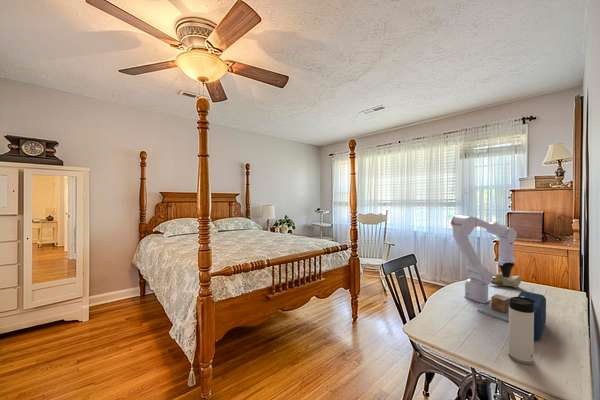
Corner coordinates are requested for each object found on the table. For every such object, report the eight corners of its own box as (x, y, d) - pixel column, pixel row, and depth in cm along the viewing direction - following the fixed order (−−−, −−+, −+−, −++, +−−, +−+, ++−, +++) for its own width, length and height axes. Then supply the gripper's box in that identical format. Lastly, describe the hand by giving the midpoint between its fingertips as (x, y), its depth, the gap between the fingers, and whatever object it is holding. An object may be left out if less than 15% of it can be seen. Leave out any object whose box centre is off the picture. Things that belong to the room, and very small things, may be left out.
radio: (518, 316, 115) (519, 270, 114) (546, 323, 108) (547, 275, 108) (509, 334, 101) (509, 282, 100) (540, 343, 94) (540, 288, 93)
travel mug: (539, 366, 82) (540, 303, 82) (515, 363, 84) (516, 301, 83) (526, 354, 88) (527, 295, 88) (504, 352, 90) (505, 294, 89)
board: (478, 311, 120) (478, 309, 120) (492, 304, 127) (492, 301, 127) (509, 322, 109) (509, 320, 109) (523, 313, 117) (523, 311, 117)
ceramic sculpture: (520, 275, 142) (487, 271, 152) (521, 291, 141) (488, 286, 151) (521, 270, 150) (489, 267, 160) (522, 286, 149) (490, 281, 159)
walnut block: (491, 309, 119) (491, 296, 119) (496, 306, 122) (496, 294, 121) (504, 313, 115) (504, 300, 115) (509, 310, 117) (509, 297, 117)
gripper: (509, 254, 127) (509, 281, 127) (521, 250, 134) (521, 276, 135) (492, 251, 133) (492, 278, 133) (505, 247, 140) (505, 272, 141)
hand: (506, 276), depth 134 cm, fingers closed
